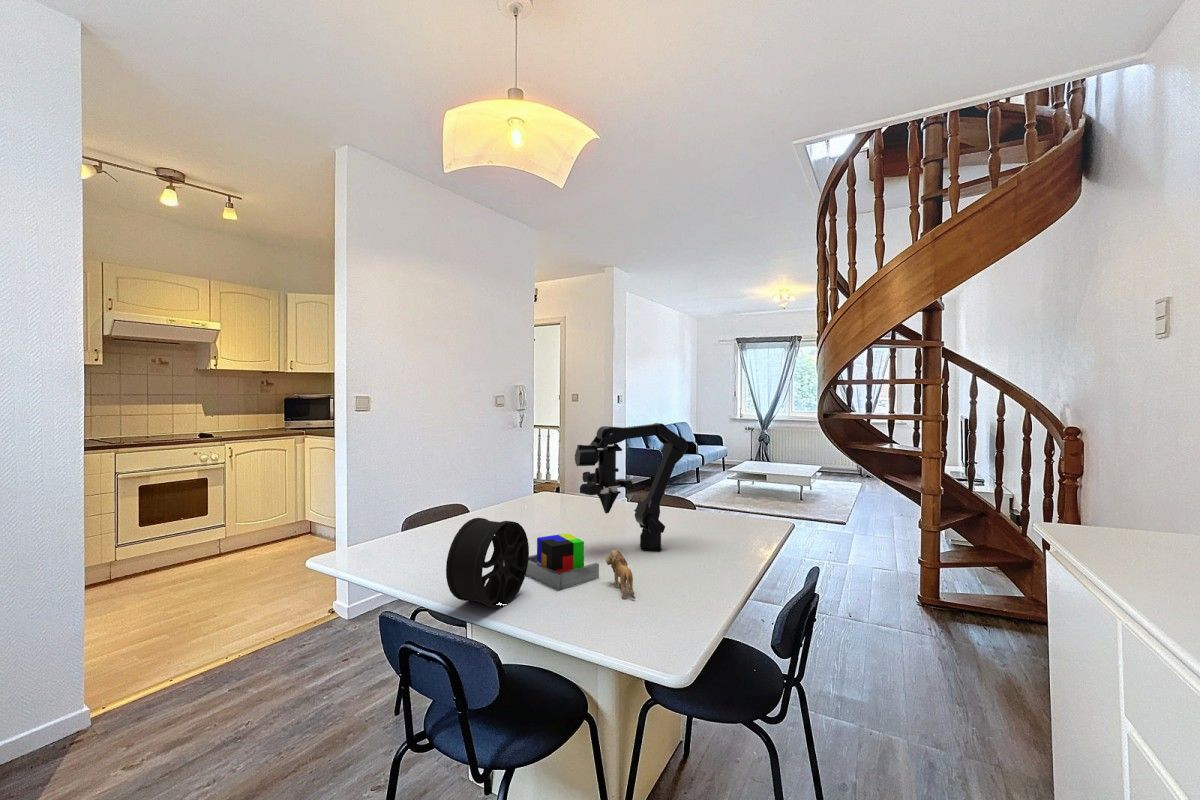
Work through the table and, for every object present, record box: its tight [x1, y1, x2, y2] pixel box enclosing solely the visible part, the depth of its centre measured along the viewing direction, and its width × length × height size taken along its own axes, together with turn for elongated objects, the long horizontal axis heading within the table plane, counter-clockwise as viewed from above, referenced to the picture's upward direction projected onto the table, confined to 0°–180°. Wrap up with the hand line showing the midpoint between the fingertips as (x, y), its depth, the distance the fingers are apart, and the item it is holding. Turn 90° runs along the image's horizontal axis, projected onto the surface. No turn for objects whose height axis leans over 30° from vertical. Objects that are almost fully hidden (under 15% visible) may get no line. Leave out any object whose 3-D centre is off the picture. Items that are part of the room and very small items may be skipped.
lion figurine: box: [604, 549, 636, 600], centre depth 132 cm, size 15×5×9 cm, turn 22°
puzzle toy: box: [536, 532, 585, 573], centre depth 143 cm, size 10×10×10 cm
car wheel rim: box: [445, 517, 530, 609], centre depth 124 cm, size 20×10×20 cm, turn 156°
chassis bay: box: [525, 553, 600, 591], centre depth 143 cm, size 14×18×4 cm
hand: (606, 513), depth 163 cm, fingers closed
